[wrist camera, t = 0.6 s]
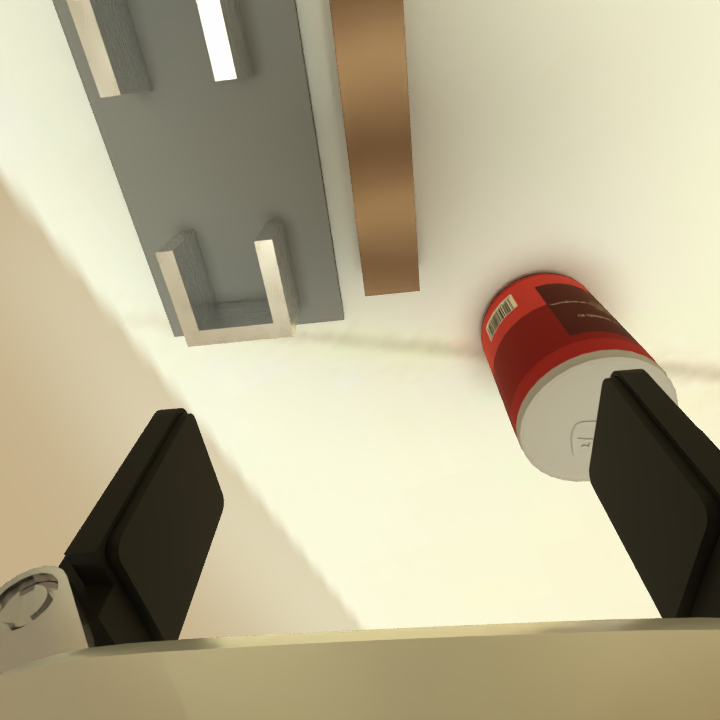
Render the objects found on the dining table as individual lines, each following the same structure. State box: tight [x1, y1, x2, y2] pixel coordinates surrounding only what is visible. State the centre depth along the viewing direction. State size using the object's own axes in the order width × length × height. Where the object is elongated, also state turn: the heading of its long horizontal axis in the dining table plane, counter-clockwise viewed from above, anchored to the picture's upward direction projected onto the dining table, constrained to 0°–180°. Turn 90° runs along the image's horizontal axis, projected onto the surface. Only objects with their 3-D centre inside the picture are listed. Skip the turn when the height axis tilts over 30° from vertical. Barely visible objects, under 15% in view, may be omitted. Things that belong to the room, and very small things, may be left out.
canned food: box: [481, 273, 678, 482], centre depth 29 cm, size 8×8×11 cm
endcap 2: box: [155, 219, 301, 347], centre depth 30 cm, size 6×7×4 cm
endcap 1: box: [66, 0, 254, 98], centre depth 23 cm, size 6×7×4 cm
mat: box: [53, 0, 344, 337], centre depth 28 cm, size 22×12×1 cm, turn 7°
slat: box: [329, 0, 420, 296], centre depth 26 cm, size 16×3×4 cm, turn 7°
